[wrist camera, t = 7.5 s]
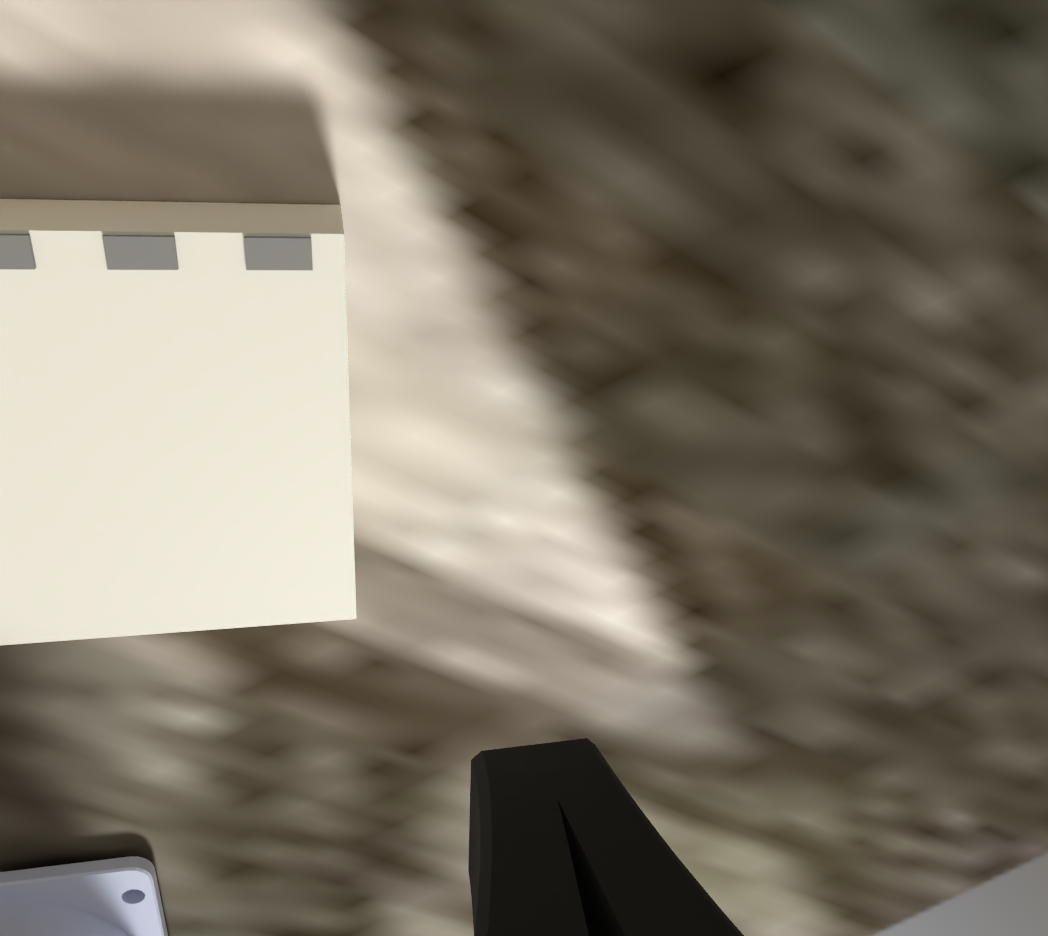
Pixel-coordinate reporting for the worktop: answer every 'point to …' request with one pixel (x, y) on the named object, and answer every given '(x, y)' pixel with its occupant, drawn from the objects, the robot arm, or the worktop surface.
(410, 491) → the worktop surface
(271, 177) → the worktop surface
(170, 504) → the board
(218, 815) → the worktop surface
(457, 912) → the worktop surface
